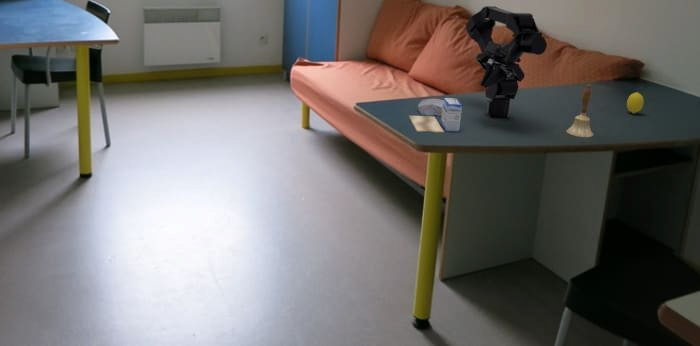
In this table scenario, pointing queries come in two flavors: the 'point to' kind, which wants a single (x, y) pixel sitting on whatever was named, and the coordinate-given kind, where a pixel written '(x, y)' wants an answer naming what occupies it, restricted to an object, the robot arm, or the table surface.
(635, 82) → the table surface
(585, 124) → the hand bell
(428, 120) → the cork pad
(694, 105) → the table surface
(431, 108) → the stone block
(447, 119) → the medicine box
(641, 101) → the lemon
